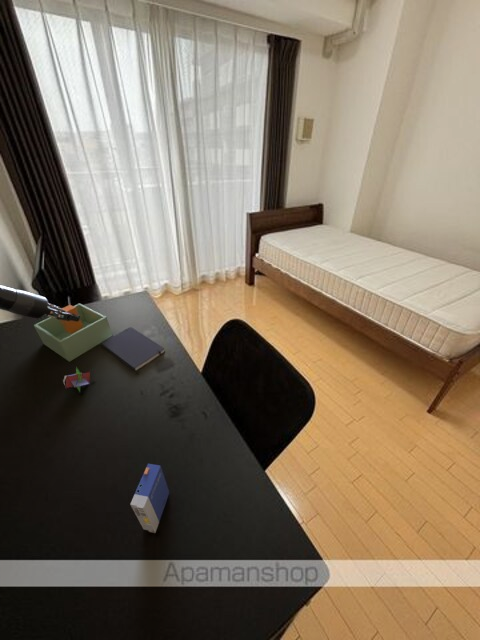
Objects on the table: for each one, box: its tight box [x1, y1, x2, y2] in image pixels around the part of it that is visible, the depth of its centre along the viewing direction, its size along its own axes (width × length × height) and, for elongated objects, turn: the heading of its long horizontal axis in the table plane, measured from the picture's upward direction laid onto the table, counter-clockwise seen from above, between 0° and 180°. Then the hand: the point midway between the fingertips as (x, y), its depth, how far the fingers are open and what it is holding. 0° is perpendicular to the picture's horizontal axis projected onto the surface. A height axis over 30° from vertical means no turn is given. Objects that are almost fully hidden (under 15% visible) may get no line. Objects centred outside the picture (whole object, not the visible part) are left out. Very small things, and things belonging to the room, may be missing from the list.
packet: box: [60, 304, 83, 334], centre depth 103 cm, size 4×5×9 cm
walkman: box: [130, 463, 170, 534], centre depth 57 cm, size 8×3×12 cm, turn 170°
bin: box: [33, 303, 114, 362], centre depth 106 cm, size 18×18×9 cm
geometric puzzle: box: [62, 366, 91, 393], centre depth 87 cm, size 7×7×8 cm
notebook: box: [100, 326, 166, 372], centre depth 103 cm, size 13×2×21 cm
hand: (75, 316), depth 104 cm, fingers closed on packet, 3 cm apart
